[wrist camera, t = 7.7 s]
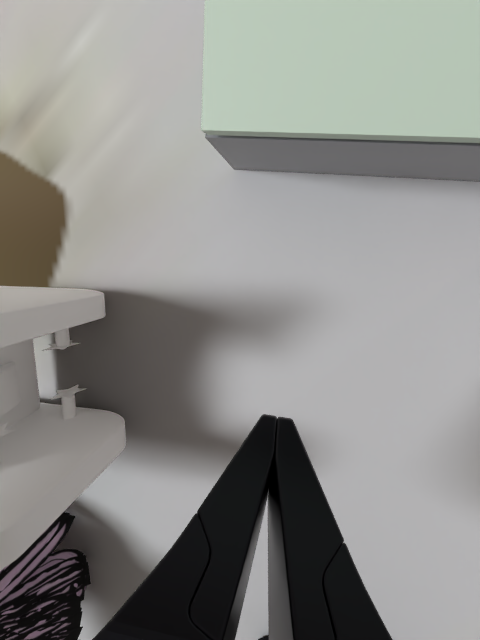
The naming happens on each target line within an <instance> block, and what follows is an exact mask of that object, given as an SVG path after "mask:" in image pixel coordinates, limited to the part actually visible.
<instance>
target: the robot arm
mask: <svg viewBox="0 0 480 640" xmlns="http://www.w3.org/2000/svg"><path fill="white" fill-rule="evenodd" d="M268 489H269V491H268ZM267 496H268V612H269V637H264V638H260V639H258V640H392V638H391V636H390V634H389V632H388V631H387V629H386V627H385V625H384V623H383V621H382V619H381V618H380V616H379V614H378V612H377V610H376V608H375V606H374V604H373V602H372V600H371V598H370V596H369V594H368V592H367V590H366V588H365V586H364V584H363V582H362V580H361V577H360V575H359V573H358V571H357V569H356V566H355V564H354V562H353V560H352V557H351V555H350V553H349V550H348V548H347V546H346V544H345V543H343V542H344V539H343V537H342V534H341V532H340V530H339V527H338V525H337V523H336V520H335V518H334V515H333V513H332V511H331V508H330V506H329V504H328V501H327V499H326V497H325V494H324V492H323V490H322V487H321V485H320V483H319V480H318V478H317V475H316V473H315V471H314V468H313V466H312V464H311V461H310V459H309V457H308V454H307V452H306V450H305V447H304V445H303V443H302V440H301V438H300V436H299V433H298V431H297V428H296V426H295V424H294V422H293V420H292V419H290V418H284V417H278V418H277V417H276V416H272V415H266V414H264V415H262V416H261V417H260V419H259V420H258V422H257V423H256V425H255V426H254V428H253V429H252V431H251V432H250V434H249V435H248V437H247V438H246V440H245V441H244V442H243V444H242V445H241V447H240V448H239V450H238V451H237V453H236V454H235V456H234V457H233V459H232V460H231V462H230V463H229V465H228V466H227V468H226V469H225V471H224V472H223V474H222V475H221V477H220V478H219V480H218V481H217V483H216V484H215V486H214V487H213V488H212V490H211V491H210V493H209V494H208V496H207V497H206V499H205V500H204V502H203V503H202V505H201V506H200V508H199V509H198V511H197V513H196V514H195V515H194V516H193V518H192V519H191V521H190V522H189V524H188V525H187V527H186V528H185V530H184V531H183V532H182V534H181V535H180V537H179V538H178V539H177V541H176V542H175V543H174V545H173V546H172V548H171V549H170V550H169V551H168V553H167V554H166V555H165V556H164V557H163V559H162V560H161V561H160V562H159V564H158V565H157V566H156V567H155V569H154V570H153V571H152V572H151V573H150V574H149V576H148V577H147V578H146V579H145V580H144V581H143V583H142V584H141V585H140V586H139V587H138V588H137V590H136V591H135V592H134V593H133V594H132V595H131V597H130V598H129V599H128V600H127V601H126V603H125V604H124V605H123V606H122V607H121V608H120V610H119V611H118V612H117V613H116V614H115V615H114V617H113V618H112V619H111V620H110V621H109V622H108V623H107V625H106V626H105V627H104V628H103V629H102V630H101V631H100V632H99V633H98V634H97V635H96V636H95V637H94V638H93V639H92V640H235V636H236V632H237V628H238V623H239V619H240V615H241V610H242V606H243V602H244V597H245V593H246V589H247V584H248V580H249V576H250V571H251V567H252V563H253V558H254V554H255V550H256V545H257V541H258V537H259V532H260V528H261V524H262V519H263V515H264V511H265V506H266V501H267Z"/></svg>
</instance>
